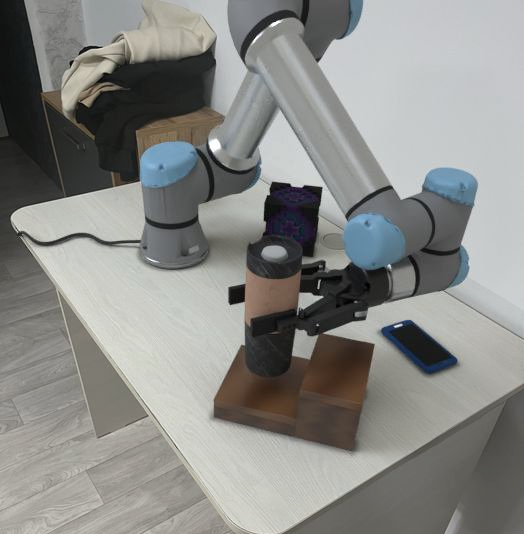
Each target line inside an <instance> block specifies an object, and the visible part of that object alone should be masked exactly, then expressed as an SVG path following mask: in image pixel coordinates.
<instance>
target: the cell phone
mask: <svg viewBox="0 0 524 534" xmlns="http://www.w3.org/2000/svg"><path fill="white" fill-rule="evenodd" d="M380 332H381V334H383V336H384V337H386V338H387V340H389V341H390V342H391V343H392V344H393V345H394V346H395V347H396V348H398V350H400V351H401V352H402V353H403V354H404V355H405V356H406V357H408V359H410V360H411V361H412V362H413V363H414V364H415V365H416V366H417V367H418V368H420V370H422V371H423V372H424V373H425V374H433V373H436V372H439V371H441V370H444V369H446V368H449V367H452V366H455V365H456V364H457V363H458V358H457V357H456V356H455V355H454V354H453V353H452V352H450V351H449V350H447V348H445V347H444V346H443V345H442V344H441V343H439V342H438V341H437V340H436V339H434V338H433V337H432V336H431V335H430V334H429V333H428V332H426V331H425V330H424V329H423V328H422V327H420V326H419V325H418V324H417V323H416V322H414V321H413V320H412V319H405V320H402V321H399V322H396V323H393V324H389V325H387V326H384V327H382V328H381V329H380Z"/></svg>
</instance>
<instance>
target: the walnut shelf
mask: <svg viewBox="0 0 524 534" xmlns="http://www.w3.org/2000/svg"><path fill="white" fill-rule="evenodd" d="M375 346H376V344H375V343H372V342H367V341H362V340H357V339H353V338H348V337H343V336H339V335H338V336H337V335H333V334H328V333H325V332H324V333H322V334H319V335H317V338H316V340H315V343H314V346H313V350H312V352H311V356H310V358H305V357H300V356H295V355H292V359H291V364H290V367H289V369H288V370H287V371H286V372H285V373H284V374H282V375H280V376H277V377H261V376H258V375H256V374H254V373H252V372H251V371H250V370H249V369H248V368H247V366H246V363H245V344H241V345H240V346H239V348H238V350H237V352H236V354H235V356H234V357H233V360H232V362H231V364H230V366H229V368H228V370H227V372H226V375H225V376H224V378H223V380H222V382H221V383H220V385H219V388H218V390H217V392H216V394H215V395H214V398H213V418H215V419H220V420H224V421H228V422H232V423H236V424H240V425H243V426H244V425H245V426H249V427H252V428H256V429H260V430H265V431H269V432H273V433H277V434H281V435H285V436H290V437H293V438H296V439H302V440H305V441H308V442H309V441H310V442H312V443H313V442H314V443H318V444H321V445H325V446H330V447H334V448H339V449H342V450H345V451H351V452H353V449H354V446H355V442H356V441H355V440H356V437H357V432H358V429H359V423H360V419H361V415H362V411H363V407H364V401H365V398H366V397H365V396H366V391H367V388H368V387H367V386H368V381H369V376H370V372H371V366H372V361H373V356H374V351H375Z"/></svg>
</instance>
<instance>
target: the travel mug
mask: <svg viewBox="0 0 524 534" xmlns="http://www.w3.org/2000/svg"><path fill="white" fill-rule="evenodd" d="M302 255H303V250H302V247H301V245H300V244H299V243H298V242H296V241H294V240H292V239H290V238H287V237H283V236H274V235H271V236H264V237H263V236H261V238H260V239H259V240H257V241H256V242H248V244H247V246H246V256H245V257H246V258H245V259H246V260H245V261H246V262H245V284H246V285H245V302H244V318H243V319H244V345H245V363H246V366H247V368H248V369H249V370H250V371H251V372H252V373H254V374H256V375H258V376H261V377H277V376H280V375H282V374H284V373H285V372H286V371H287V370H288V369H289V367H290V364H291V359H292V356H293V351H294V342H295V336H296V330H297V329H294V330H290V331H285V332H282V333H278V332H273V333H269V334H265V335H261V336H257V337H253V338H252V337H251V335H250V319H251V318H255V317H260V316H264V315H268V314H273V313H277V312H283V311H286V310H290V309H295V310H296V315H298V310H299V299H300V293H299V289H300V278H301V266H302V264H303V256H302Z"/></svg>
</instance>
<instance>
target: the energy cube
mask: <svg viewBox="0 0 524 534" xmlns="http://www.w3.org/2000/svg"><path fill="white" fill-rule="evenodd" d="M323 188H324V187H323V186H319V185H318V186H316V185H310V184H304V185H303V186H293V185H292V184H291V183H290V182H281V181H280V182H279V181H271V183H270V186H269V189H268V192H269V194H266V196H265V199H264V203H263V222H264V223H265V228H264V229H265V230H264V231H263V233H262V237H264V236H271V235H274V236H283V237H287V238H290V239H292V240H294V241H296V242H298V243H299V244H300V245H301V247H302V250H303V255H302V257H308V258H314V254H315V248H316V242H317V237H318V230H319V229H318V228H319V221H320V217H319V213H320V207H321V205H322V198H323Z"/></svg>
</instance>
